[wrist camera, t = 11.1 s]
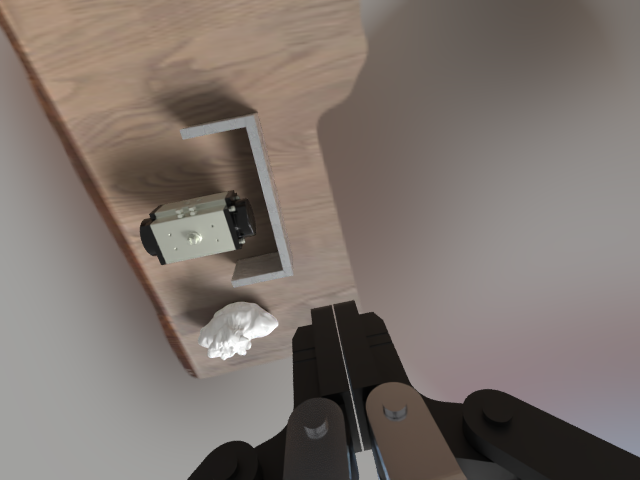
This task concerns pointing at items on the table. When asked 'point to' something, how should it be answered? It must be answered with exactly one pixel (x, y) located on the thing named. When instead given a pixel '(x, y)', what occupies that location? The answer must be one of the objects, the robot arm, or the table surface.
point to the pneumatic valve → (198, 227)
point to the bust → (235, 329)
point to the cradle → (278, 261)
